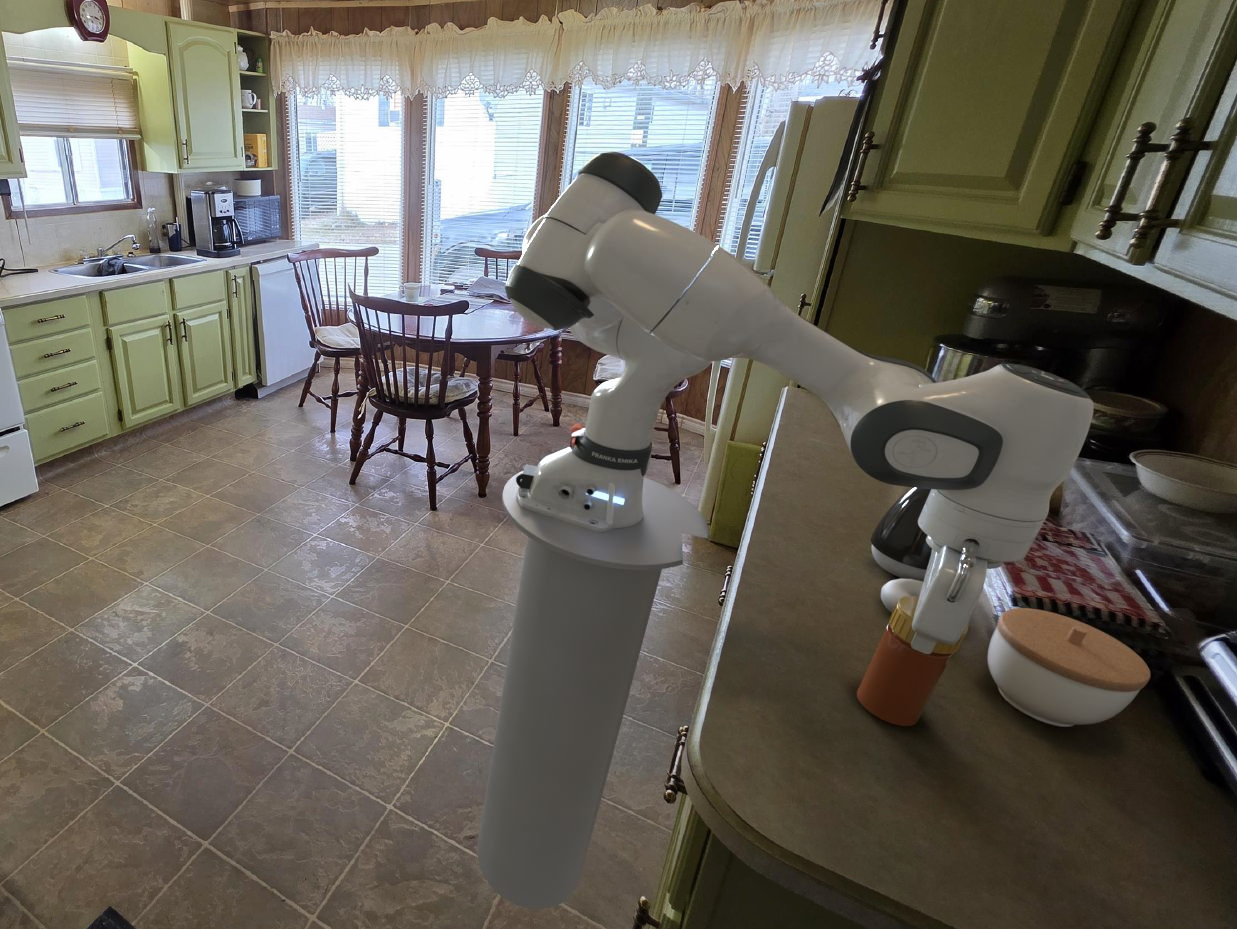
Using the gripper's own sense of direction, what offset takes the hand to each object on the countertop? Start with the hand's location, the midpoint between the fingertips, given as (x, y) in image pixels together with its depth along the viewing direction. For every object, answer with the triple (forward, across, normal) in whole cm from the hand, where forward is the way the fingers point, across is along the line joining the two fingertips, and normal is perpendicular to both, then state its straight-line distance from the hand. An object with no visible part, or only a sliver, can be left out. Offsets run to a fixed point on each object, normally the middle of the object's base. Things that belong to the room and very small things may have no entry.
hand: (924, 631), depth 74 cm
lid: (0, 0, 0) cm, 0 cm away
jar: (+11, 0, 0) cm, 11 cm away
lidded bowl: (+11, +14, -13) cm, 22 cm away
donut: (+11, +24, 0) cm, 26 cm away
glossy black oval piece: (+11, +35, +3) cm, 37 cm away
